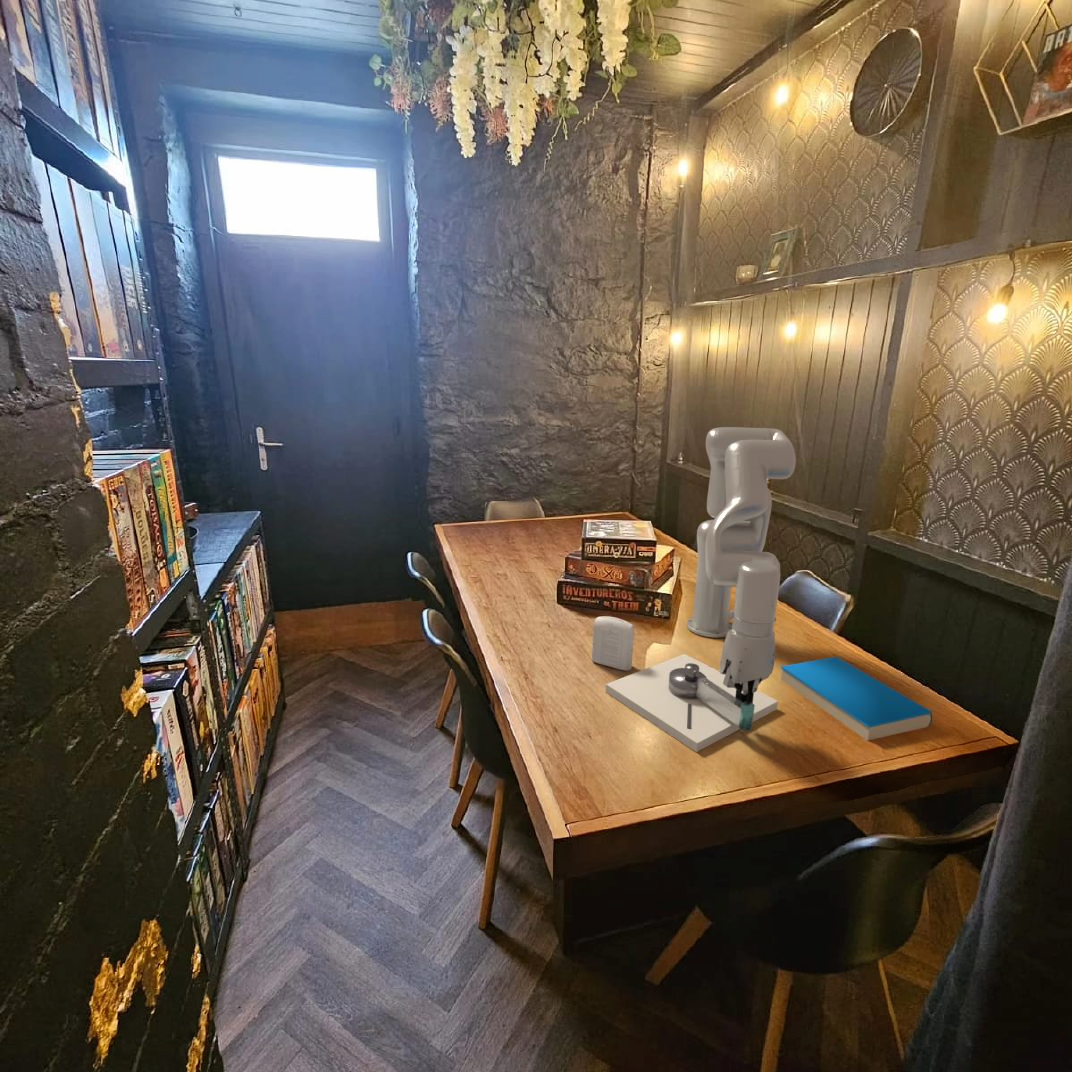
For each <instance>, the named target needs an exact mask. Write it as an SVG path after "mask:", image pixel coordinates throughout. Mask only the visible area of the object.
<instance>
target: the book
mask: <svg viewBox="0 0 1072 1072" xmlns="http://www.w3.org/2000/svg"><path fill="white" fill-rule="evenodd" d="M780 669H782V670H781V674H780V675H781V676H780V680H781V681H783V682H784V683H785V684H786V685H788V686H790V687H791V688H792V689H793V690H795V691H797V692H798V693H800V694H801V695H802V696H804V697H805V698H806V699H808V700H809V701H811V702H812V703H814V704H815V705H816V706H817V707H819V708H821V709H822V710H823V711H825V712H827V713H828V715H831V717H833V718H835V719H836V720H837V721H839V722H840V723H842V724H843V725H845V726H846V727H847V728H849V729H850V730H852V731H853V732H855V733H856V734H857V735H859V737H862V738H863V739H865V741H867V742H868V741H872V740H876V739H880V738H886V737H889V736H892V735H897V734H902V733H906V732H911V731H915V730H919V729H925V728H928V727H930V726H931V724H932V719H933V714H932V711H931V710H930V709H927V708H926V707H925V706H923V705H922V704H919V703H917V702H916V701H914V700H912V699H911V698H909V697H907V696H905V695H904V694H902V693H900V692H898V691H897V690H895V689H893V688H891V687H890V686H888V685H886V684H885V683H883V682H881V681H879V680H878V679H876V678H874V677H873V676H871V675H869V674H867V673H865V672H864V671H862V670H861V669H859V668H857V667H855V666H854V665H852V664H850V663H848V661H847V662H846V661H845V660H843V659H841V658H840V657H838V656H835V657H829V658H823V659H822V658H821V659H817V660H811V661H805V662H800V663H795V664H794V663H793V664H788V665H783V666H781V667H780Z"/></svg>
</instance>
